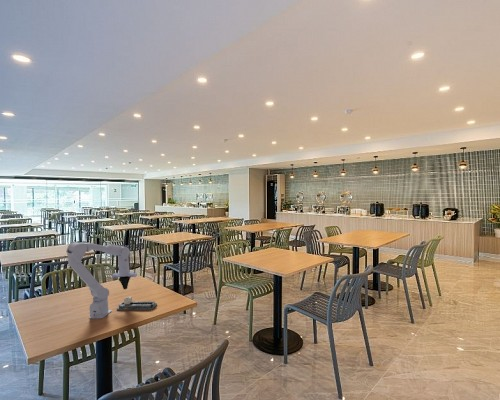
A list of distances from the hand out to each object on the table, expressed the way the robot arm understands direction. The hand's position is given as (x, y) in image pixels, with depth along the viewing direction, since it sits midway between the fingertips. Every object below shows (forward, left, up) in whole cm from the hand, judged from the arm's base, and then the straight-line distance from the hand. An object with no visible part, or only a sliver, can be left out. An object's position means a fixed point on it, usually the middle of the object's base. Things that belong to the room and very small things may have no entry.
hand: (125, 288), depth 169 cm
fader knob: (-4, -3, -8) cm, 10 cm away
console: (-4, -9, -10) cm, 14 cm away
